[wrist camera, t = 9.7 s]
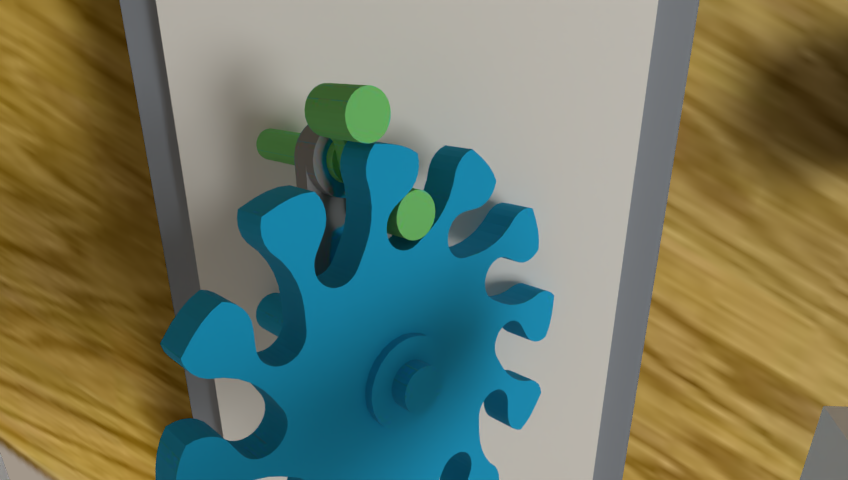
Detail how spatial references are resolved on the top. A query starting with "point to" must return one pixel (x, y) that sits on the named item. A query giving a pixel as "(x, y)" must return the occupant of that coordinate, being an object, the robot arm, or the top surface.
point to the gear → (363, 313)
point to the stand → (425, 134)
